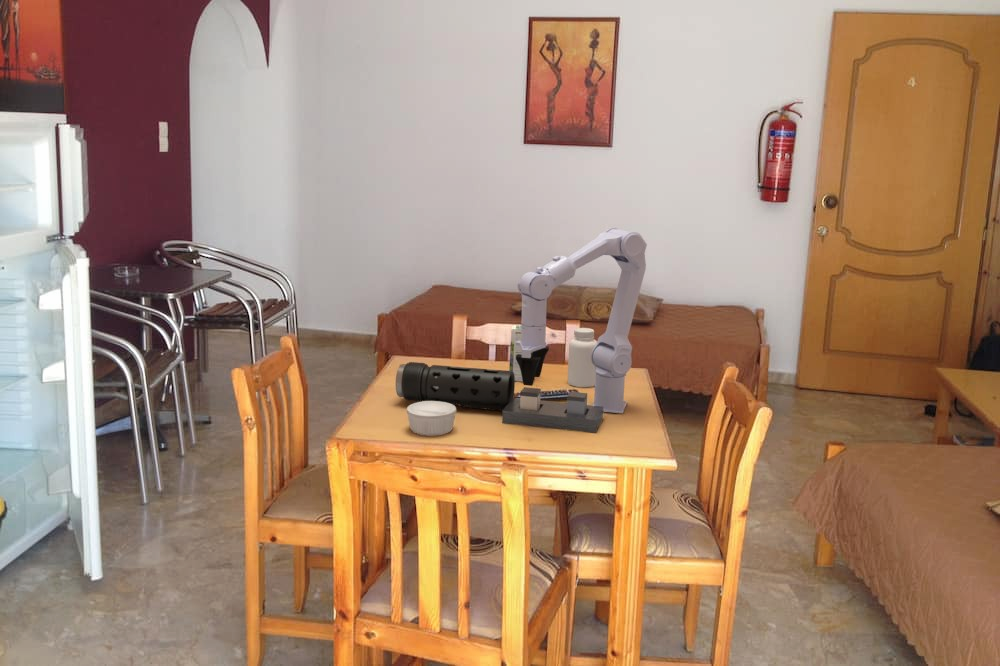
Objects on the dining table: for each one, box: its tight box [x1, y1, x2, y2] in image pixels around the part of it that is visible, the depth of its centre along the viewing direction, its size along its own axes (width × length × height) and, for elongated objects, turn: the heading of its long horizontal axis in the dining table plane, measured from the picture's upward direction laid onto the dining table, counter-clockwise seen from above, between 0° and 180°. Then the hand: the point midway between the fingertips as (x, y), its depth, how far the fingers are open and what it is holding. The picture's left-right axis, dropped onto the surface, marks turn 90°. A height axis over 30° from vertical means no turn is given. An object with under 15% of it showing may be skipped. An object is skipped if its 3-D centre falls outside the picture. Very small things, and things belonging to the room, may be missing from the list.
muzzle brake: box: [395, 361, 516, 411], centre depth 232 cm, size 10×28×10 cm, turn 78°
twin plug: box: [566, 391, 588, 415], centre depth 221 cm, size 4×4×7 cm
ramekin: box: [406, 401, 457, 437], centre depth 214 cm, size 11×11×5 cm
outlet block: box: [501, 397, 604, 434], centre depth 223 cm, size 11×22×3 cm, turn 76°
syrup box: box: [508, 324, 523, 383], centre depth 257 cm, size 6×6×14 cm
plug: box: [519, 386, 542, 410], centre depth 224 cm, size 4×4×7 cm
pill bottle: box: [567, 327, 598, 388], centre depth 254 cm, size 8×8×15 cm
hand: (531, 380), depth 223 cm, fingers open, 7 cm apart
